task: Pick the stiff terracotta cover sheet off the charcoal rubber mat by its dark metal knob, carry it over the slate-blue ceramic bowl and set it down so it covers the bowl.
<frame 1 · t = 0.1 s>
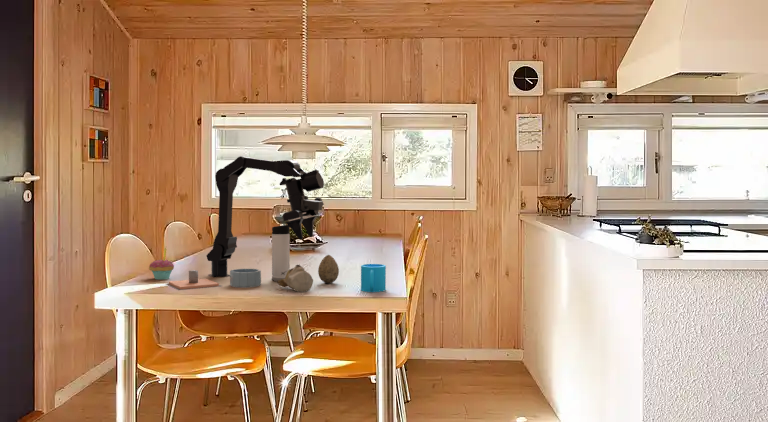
hand: (306, 238, 250), 15 cm above the table, fingers open, 9 cm apart
travel mug: (281, 280, 254), on the table
bowl: (245, 286, 240), on the table
cover sheet: (193, 284, 239), resting on mat
decorative egg: (328, 283, 247), on the table
cupcake: (161, 280, 253), on the table
mat: (193, 286, 239), on the table
ceramic sculpture: (297, 290, 234), on the table
mug: (372, 291, 232), on the table
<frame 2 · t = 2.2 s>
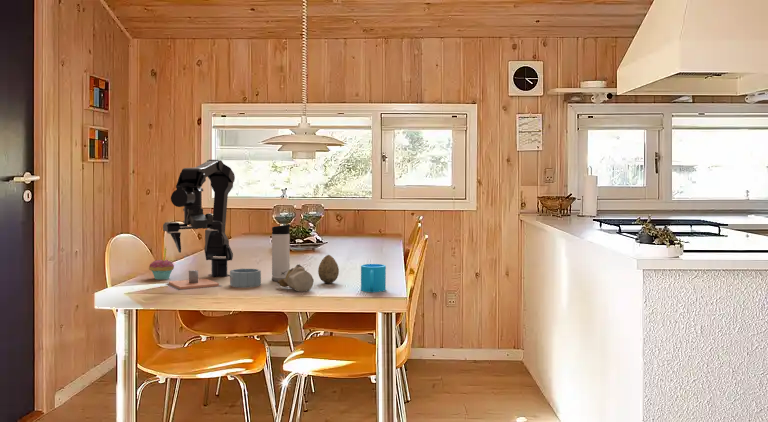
hand: (193, 251, 239), 12 cm above the table, fingers open, 9 cm apart
nothing on the table moved.
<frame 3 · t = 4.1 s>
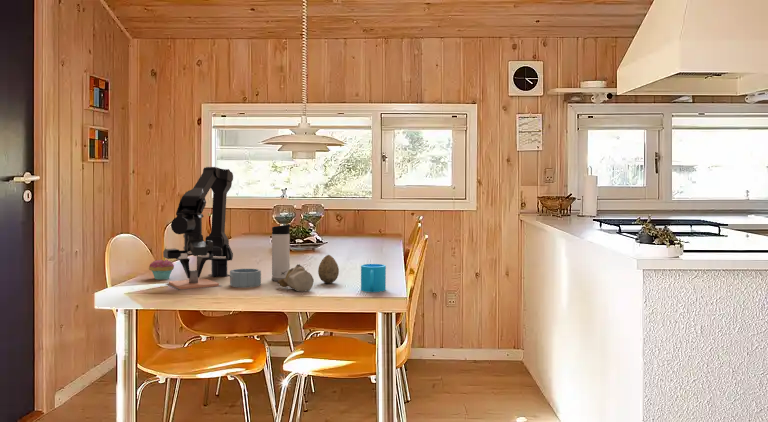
hand: (193, 277, 239), 3 cm above the table, fingers closed on cover sheet, 3 cm apart
cover sheet: (193, 284, 239), resting on mat, touching gripper
everything else where it was.
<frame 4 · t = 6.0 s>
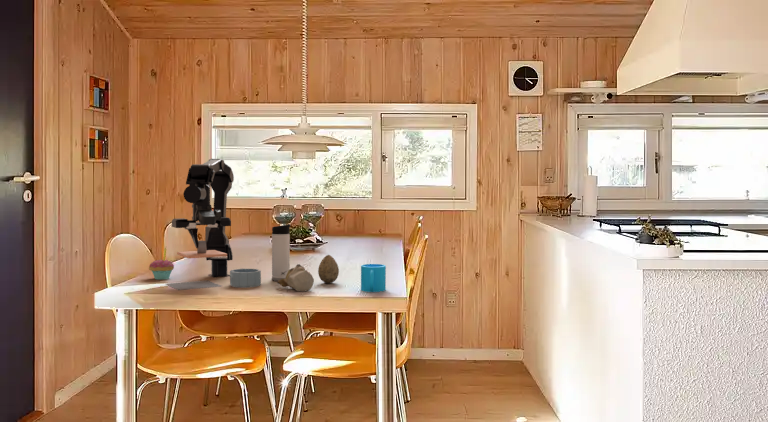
hand: (201, 248, 239), 13 cm above the table, fingers closed on cover sheet, 3 cm apart
cover sheet: (201, 255, 239), point 11 cm above the table, touching gripper
everything else where it was.
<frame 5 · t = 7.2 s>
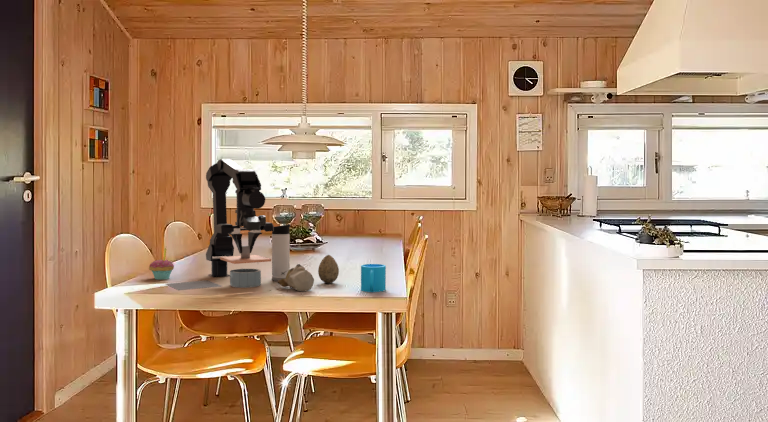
hand: (245, 253, 239), 11 cm above the table, fingers closed on cover sheet, 3 cm apart
cover sheet: (245, 260, 239), point 9 cm above the table, touching gripper
everything else where it was.
when the fingers open (9 cm above the table, at t = 8.1 s): cover sheet drops 1 cm, resting on bowl.
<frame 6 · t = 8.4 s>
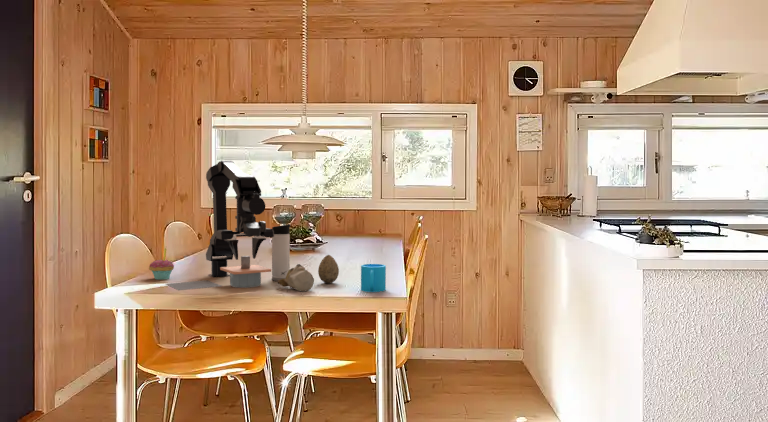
hand: (245, 259, 239), 9 cm above the table, fingers open, 6 cm apart
cover sheet: (245, 270, 240), point 5 cm above the table, touching bowl
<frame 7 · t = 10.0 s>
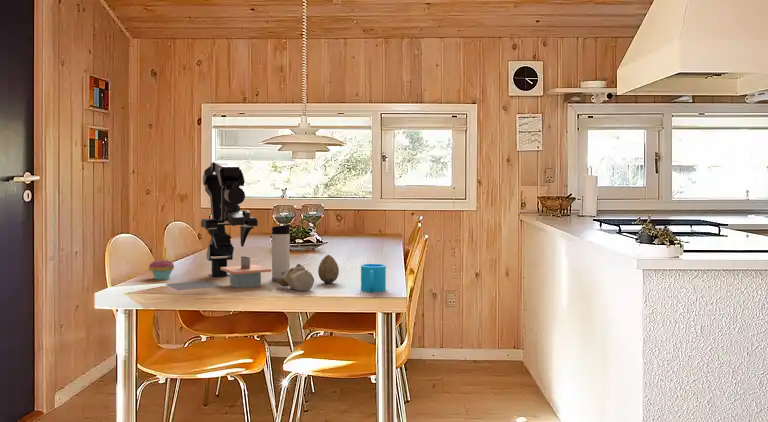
hand: (229, 247, 245), 13 cm above the table, fingers open, 9 cm apart
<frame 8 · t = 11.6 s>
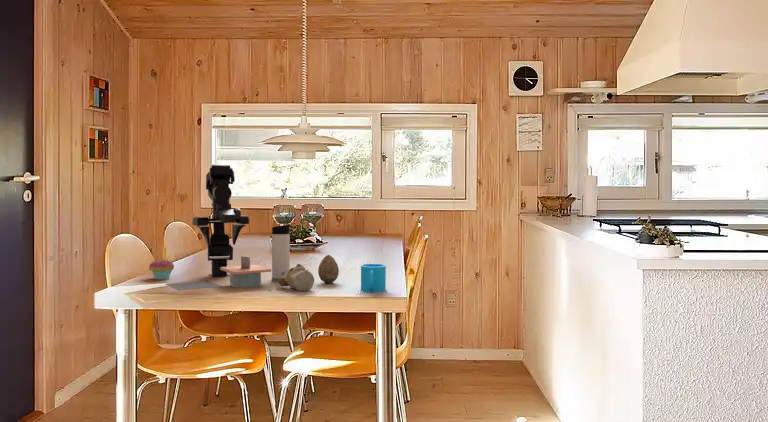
hand: (221, 245, 247), 13 cm above the table, fingers open, 9 cm apart
at the end: cover sheet 0.0 cm off-centre on the bowl, point 5.3 cm above the bowl's base; cover sheet tilted 0°; the gripper is holding nothing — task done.
